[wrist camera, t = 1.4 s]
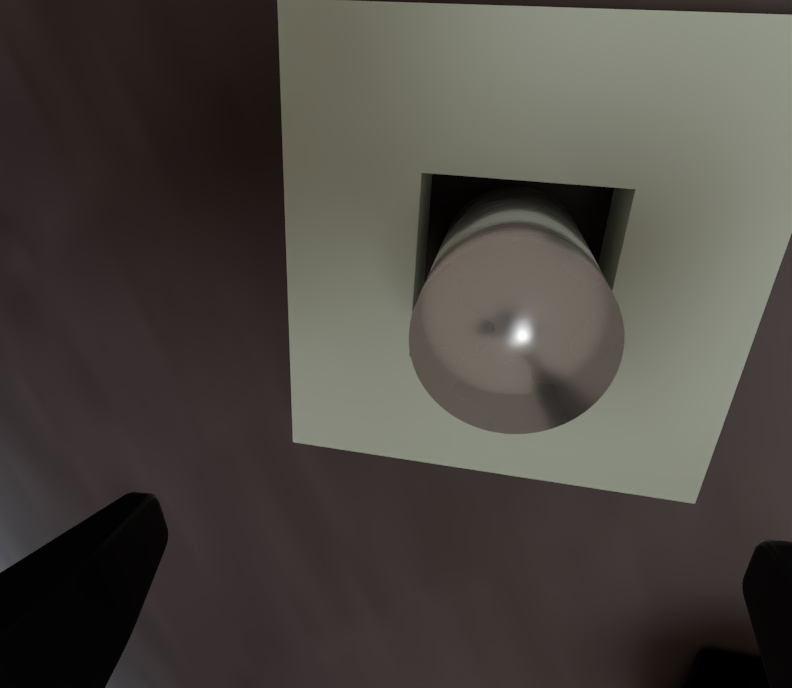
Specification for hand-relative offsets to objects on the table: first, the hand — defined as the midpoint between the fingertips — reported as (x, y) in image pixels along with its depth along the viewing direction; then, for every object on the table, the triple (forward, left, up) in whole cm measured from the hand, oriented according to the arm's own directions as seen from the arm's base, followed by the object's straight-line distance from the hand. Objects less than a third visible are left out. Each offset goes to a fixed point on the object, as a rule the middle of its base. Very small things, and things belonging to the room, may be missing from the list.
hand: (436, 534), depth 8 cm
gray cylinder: (-1, -1, -14) cm, 14 cm away
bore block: (-1, -1, -14) cm, 14 cm away
